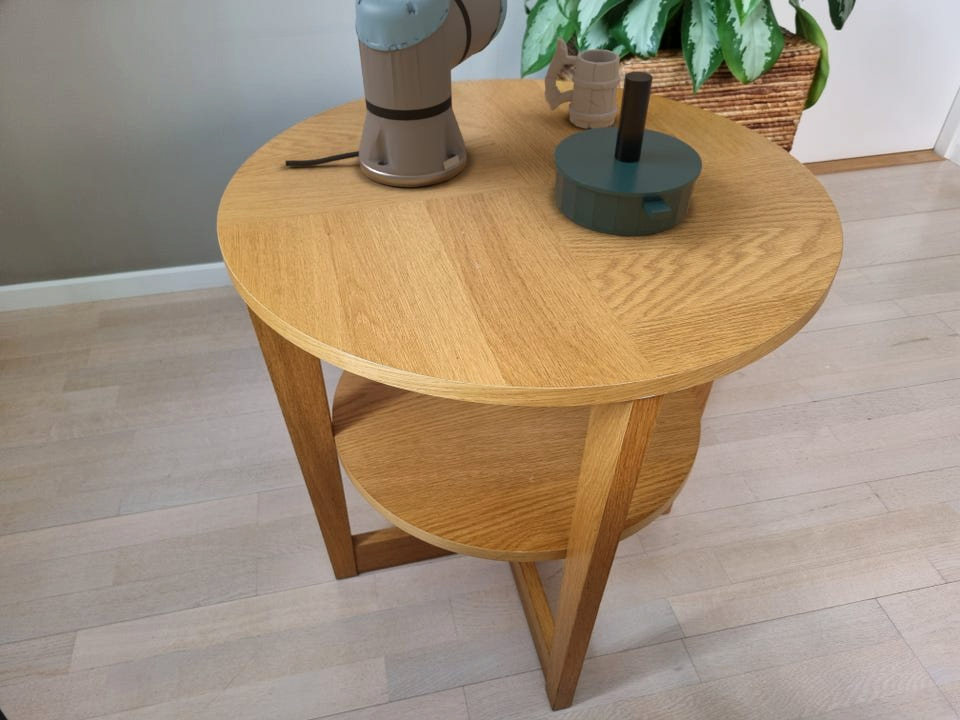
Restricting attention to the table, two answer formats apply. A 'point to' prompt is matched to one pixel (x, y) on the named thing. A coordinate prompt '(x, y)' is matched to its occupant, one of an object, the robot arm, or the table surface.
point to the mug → (586, 86)
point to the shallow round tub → (621, 209)
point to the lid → (628, 152)
